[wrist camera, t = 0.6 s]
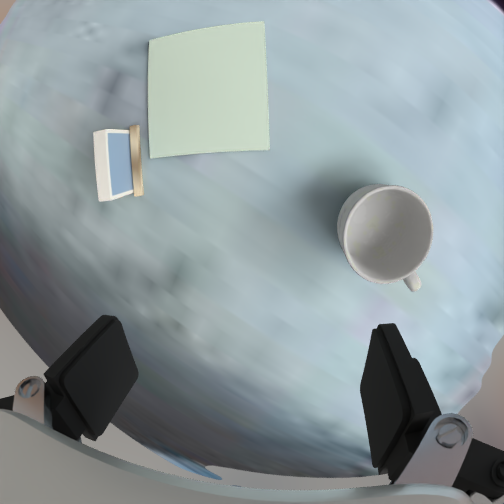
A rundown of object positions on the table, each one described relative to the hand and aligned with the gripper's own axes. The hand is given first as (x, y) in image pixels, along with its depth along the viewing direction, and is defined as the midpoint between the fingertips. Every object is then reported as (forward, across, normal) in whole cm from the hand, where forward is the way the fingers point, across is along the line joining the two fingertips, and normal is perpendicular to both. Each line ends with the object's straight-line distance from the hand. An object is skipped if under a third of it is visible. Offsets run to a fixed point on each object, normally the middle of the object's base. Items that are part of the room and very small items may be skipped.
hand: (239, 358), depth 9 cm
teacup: (+28, -13, +3) cm, 31 cm away
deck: (+28, +21, -8) cm, 36 cm away
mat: (+28, +8, -17) cm, 33 cm away
